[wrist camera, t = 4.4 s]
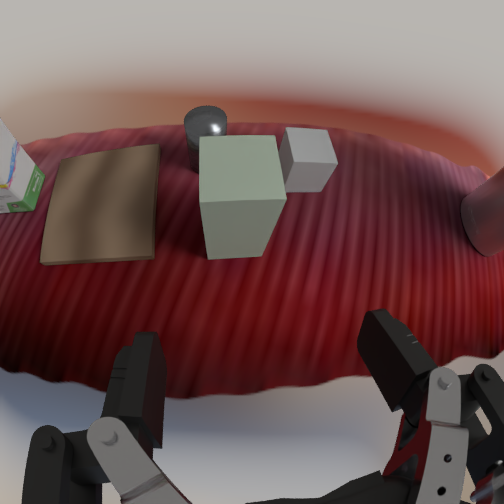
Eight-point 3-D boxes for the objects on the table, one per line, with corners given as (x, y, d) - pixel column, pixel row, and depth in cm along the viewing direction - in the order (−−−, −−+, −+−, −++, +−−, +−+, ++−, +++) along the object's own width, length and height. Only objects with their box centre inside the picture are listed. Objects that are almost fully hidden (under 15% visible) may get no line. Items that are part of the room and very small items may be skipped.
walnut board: (160, 149, 27) (159, 143, 26) (154, 259, 23) (151, 255, 22) (65, 164, 25) (61, 159, 24) (44, 265, 21) (39, 262, 21)
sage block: (256, 208, 26) (274, 135, 16) (261, 256, 24) (286, 199, 15) (206, 210, 25) (199, 137, 16) (207, 259, 24) (199, 202, 14)
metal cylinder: (225, 146, 27) (226, 104, 22) (226, 174, 26) (227, 133, 21) (190, 148, 27) (185, 107, 21) (189, 176, 26) (182, 135, 20)
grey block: (312, 160, 28) (327, 129, 23) (320, 192, 27) (338, 163, 22) (276, 159, 28) (285, 127, 23) (282, 192, 26) (294, 161, 22)
